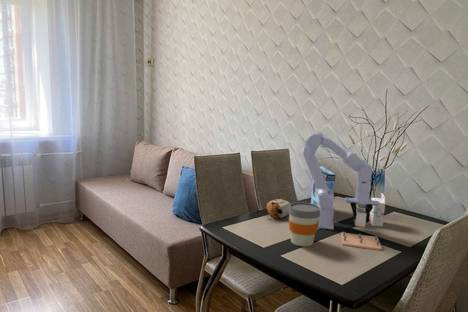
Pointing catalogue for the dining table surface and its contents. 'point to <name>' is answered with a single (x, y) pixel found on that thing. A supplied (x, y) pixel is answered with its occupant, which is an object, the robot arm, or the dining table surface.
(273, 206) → the nautilus
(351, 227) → the dining table surface
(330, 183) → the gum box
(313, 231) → the reusable coffee cup
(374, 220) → the ink cartridge box
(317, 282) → the dining table surface
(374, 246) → the wooden peg board
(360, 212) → the drive
